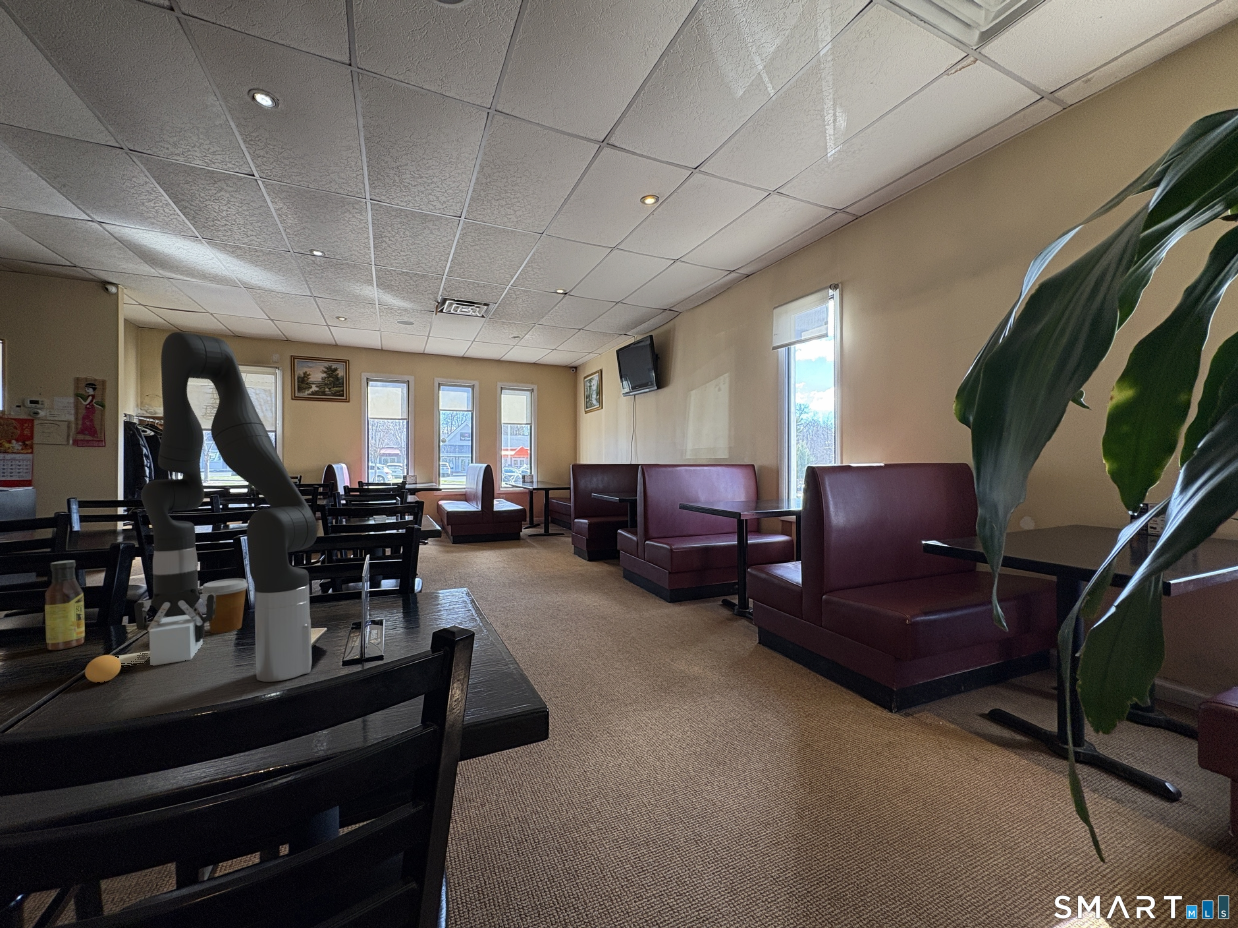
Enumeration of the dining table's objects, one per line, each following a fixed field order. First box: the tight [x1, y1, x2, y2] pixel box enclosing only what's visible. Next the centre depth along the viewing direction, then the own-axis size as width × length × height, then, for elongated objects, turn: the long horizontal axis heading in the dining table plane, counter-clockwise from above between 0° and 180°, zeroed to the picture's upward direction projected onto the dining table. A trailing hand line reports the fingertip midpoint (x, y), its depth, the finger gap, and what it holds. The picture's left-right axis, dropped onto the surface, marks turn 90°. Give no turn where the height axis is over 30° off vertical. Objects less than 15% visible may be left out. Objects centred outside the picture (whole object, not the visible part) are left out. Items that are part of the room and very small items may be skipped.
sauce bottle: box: [44, 559, 86, 651], centre depth 122 cm, size 7×6×20 cm
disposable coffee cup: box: [200, 578, 249, 634], centre depth 133 cm, size 10×10×12 cm
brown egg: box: [84, 654, 122, 683], centre depth 102 cm, size 5×5×5 cm
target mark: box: [118, 650, 150, 666], centre depth 113 cm, size 8×8×1 cm
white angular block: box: [148, 612, 203, 666], centre depth 116 cm, size 7×11×7 cm, turn 28°
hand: (177, 643), depth 116 cm, fingers closed on white angular block, 6 cm apart
